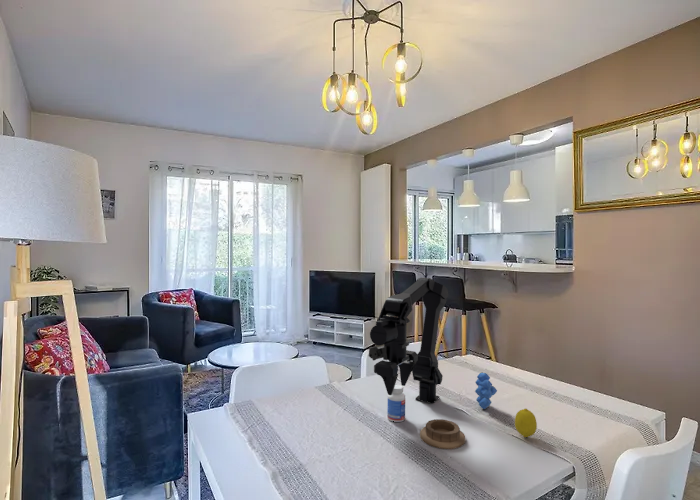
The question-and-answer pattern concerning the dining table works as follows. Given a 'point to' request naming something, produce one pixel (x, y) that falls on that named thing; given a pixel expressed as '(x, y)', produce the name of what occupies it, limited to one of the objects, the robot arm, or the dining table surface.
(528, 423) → the lemon
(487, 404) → the grapes
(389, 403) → the pill bottle
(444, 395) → the dining table surface
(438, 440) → the socket
